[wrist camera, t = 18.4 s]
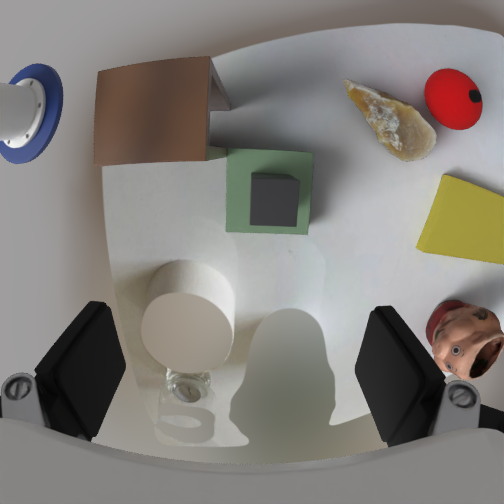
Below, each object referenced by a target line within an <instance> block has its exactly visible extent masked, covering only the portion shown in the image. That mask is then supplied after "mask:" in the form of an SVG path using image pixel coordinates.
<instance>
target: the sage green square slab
mask: <svg viewBox="0 0 504 504" xmlns="http://www.w3.org/2000/svg"><path fill="white" fill-rule="evenodd" d="M313 158H314V153H311V152H299V151H285V150H266V149H233V148H228V149H227V175H226V232H244V233H275V234H302V235H308V227H309V216H310V203H311V190H312V175H313ZM251 173H272V174H290V175H291V176H293V177H295V178H296V179H298V180H300V186H299V202H298V216H297V227H282V226H253V225H249V221H250V187H251Z"/></svg>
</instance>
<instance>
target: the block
mask: <svg viewBox="0 0 504 504" xmlns="http://www.w3.org/2000/svg"><path fill="white" fill-rule="evenodd" d="M299 186H300V180H298V179H296V178H295V177H293V176H291V175H290V174H272V173H251V187H250V221H249V225H253V226H282V227H297V216H298V202H299Z"/></svg>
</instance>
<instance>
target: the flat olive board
mask: <svg viewBox="0 0 504 504" xmlns="http://www.w3.org/2000/svg"><path fill="white" fill-rule="evenodd" d="M416 248H417V249H419V250H420V251H422V252H425V253H432V254H439V255H446V256H452V257H459V258H466V259H472V260H479V261H485V262H491V263H497V264H503V265H504V197H503V196H501V195H498V194H496V193H494V192H491V191H489V190H486V189H484V188H481V187H479V186H476V185H474V184H471V183H469V182H466V181H463V180H460V179H458V178H455V177H452V176H448V175H444V174H443V176H442V179H441V182H440V185H439V188H438V191H437V194H436V197H435V200H434V203H433V205H432V208H431V211H430V213H429V216H428V219H427V221H426V224H425V226H424V229H423V231H422V234H421V236H420V239H419V241H418V243H417V246H416Z"/></svg>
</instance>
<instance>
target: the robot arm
mask: <svg viewBox="0 0 504 504" xmlns="http://www.w3.org/2000/svg"><path fill="white" fill-rule="evenodd" d="M45 107H46V95H45V90H44V87H43V85H42V84H41V83H40V82H39V81H38V80H36V79H32V78H27V79H23V80H21V81H20V82H18V83H17V84H16V85H13V84H5V83H0V141H2V140H3V141H4V143H5V144H6V145H7V146H9V147H11V148H20V147H23V146H25V145H27V144H28V143H29V142H30V141H31V140H32V139H33V138H34V136H35V135H36V133H37V132H38V130H39V128H40V126H41V123H42V120H43V117H44V113H45ZM125 369H126V363H125V359H124V356H123V353H122V349H121V346H120V342H119V339H118V335H117V331H116V327H115V324H114V320H113V316H112V312H111V309H110V307H109V306H107V305H106V303H104V302H98V301H90V302H89V303H88V304H87V305H86V306H85V307H84V308H83V310H82V311H81V312H80V313H79V314H78V315H77V317H76V318H75V319H74V320H73V321H72V323H71V324H70V325H69V326H68V327H67V329H66V330H65V331H64V332H63V334H62V335H61V336H60V337H59V339H58V340H57V341H56V342H55V343H54V345H53V346H52V347H51V348H50V350H49V351H48V352H47V354H46V355H45V356H44V357H43V359H42V360H41V361H40V363H39V364H38V365H37V367H36V368H35V372H36V374H37V375H36V376H35V378H34V377H33V376H32V375H30V374H28V373H16V374H14V375H12V376H10V377H9V378H8V379H6V381H5V382H4V383H3V385H2V388H1V396H0V504H504V412H503V411H500V410H497V409H494V408H491V407H488V406H485V405H482V404H480V403H481V400H480V394H479V392H478V390H477V389H476V388H475V387H474V386H473V385H471V384H470V383H468V382H466V381H461V380H455V381H451V382H449V383H448V384H447V385H446V383H445V382H444V379H445V378H446V376H445V375H444V374H443V372H442V371H441V369H440V368H439V367H438V365H437V364H436V362H435V361H434V360H433V358H432V357H431V356H430V354H429V353H428V352H427V350H426V349H425V348H424V346H423V345H422V344H421V342H420V341H419V340H418V338H417V337H416V336H415V334H414V333H413V332H412V331H411V329H410V328H409V327H408V325H407V324H406V323H405V322H404V320H403V319H402V318H401V317H400V315H399V314H398V313H397V312H396V310H395V309H394V308H393V307H392V306H377V307H376V308H375V309H374V310H373V311H371V312H370V315H369V319H368V323H367V327H366V331H365V334H364V338H363V341H362V345H361V348H360V352H359V355H358V358H357V362H356V365H355V374H356V377H357V379H358V382H359V384H360V387H361V389H362V391H363V394H364V396H365V399H366V401H367V404H368V406H369V409H370V411H371V414H372V416H373V418H374V421H375V423H376V426H377V429H378V431H379V434H380V436H381V439H382V441H383V442H387V445H388V448H384V449H380V450H375V451H371V452H366V453H361V454H356V455H350V456H344V457H338V458H331V459H325V460H316V461H308V462H296V463H282V464H218V463H203V462H191V461H183V460H174V459H167V458H160V457H153V456H148V455H143V454H138V453H132V452H128V451H123V450H119V449H115V448H111V447H107V446H103V445H99V444H96V443H92V442H91V440H92V437H96V436H97V434H98V432H99V429H100V427H101V424H102V422H103V420H104V417H105V415H106V413H107V410H108V408H109V406H110V403H111V401H112V399H113V396H114V394H115V392H116V390H117V387H118V385H119V383H120V381H121V379H122V376H123V374H124V372H125Z"/></svg>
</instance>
